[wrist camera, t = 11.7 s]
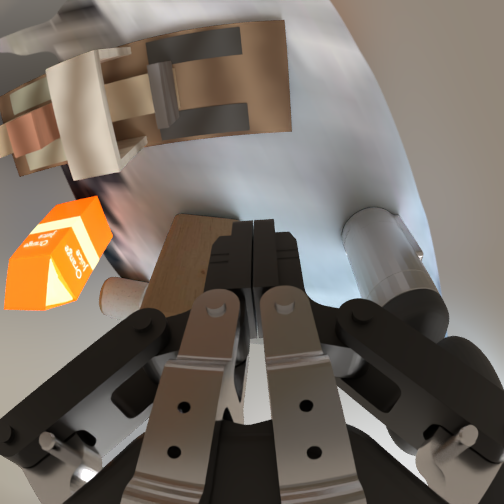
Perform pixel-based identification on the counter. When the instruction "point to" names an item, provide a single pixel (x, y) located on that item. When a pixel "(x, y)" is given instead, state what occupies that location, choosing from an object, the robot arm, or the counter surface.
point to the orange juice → (57, 256)
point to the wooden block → (184, 263)
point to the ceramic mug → (121, 297)
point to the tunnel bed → (145, 127)
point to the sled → (120, 106)
